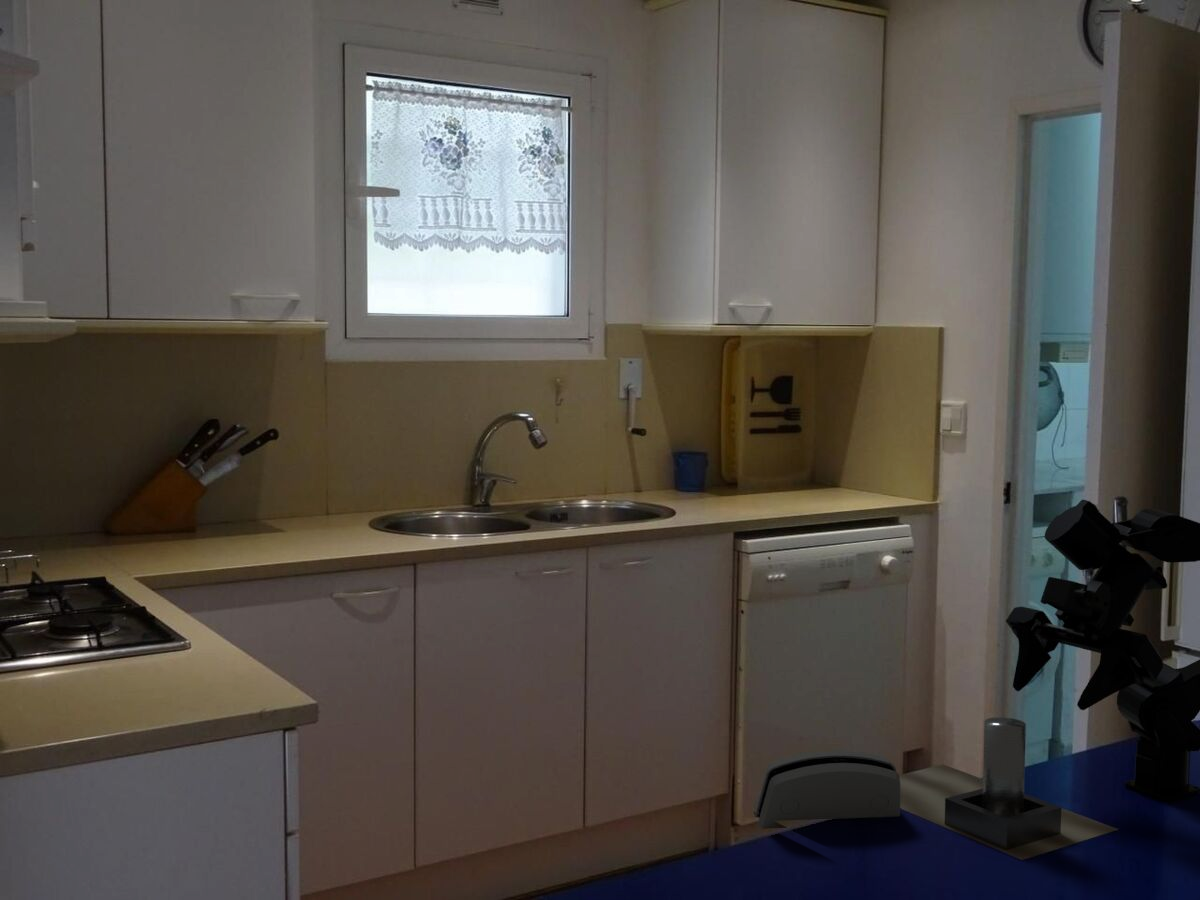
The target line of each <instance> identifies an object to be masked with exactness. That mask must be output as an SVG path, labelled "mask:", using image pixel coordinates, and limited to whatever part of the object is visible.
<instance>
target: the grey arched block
mask: <svg viewBox="0 0 1200 900" xmlns="http://www.w3.org/2000/svg"><path fill="white" fill-rule="evenodd" d="M896 770H897V769H896V766H895V765H894V764H893V762H892V761H891V760H890V759H889V758H887V757H883V756H880V755H875V754H872V753H867V752H862V751H861V752H860V751H853V750H852V751H851V750H822V751H813V752H806V753H805V752H804V753H801V754H800V753H799V754H796V755H792V756H787V757H785V758H781V759H778V760H774V761H772V762H770V763H769V764H768V765H767V766H766V768H765V772H764V776H763V780H762V783H761V786H760V790H759V794H758V797H757V801H755V802H754V806H753V807H754V810H755V811H753V815H754V818H758V820H757V826H758V827H760V829H766V830H767V829H787V828H788V826H785V825H783V824H781V823H779V822H780V821H782V822H783V821H806V820H807V821H808V820H833V819H834V820H837V819H838V820H839V819H861V818H863V819H865V818H868V819H869V818H891V817H901V809H900V778H899V775H900V774H899V773H898V772H897V771H896ZM778 821H779V822H778Z"/></svg>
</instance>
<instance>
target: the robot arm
mask: <svg viewBox="0 0 1200 900" xmlns="http://www.w3.org/2000/svg"><path fill="white" fill-rule="evenodd" d="M1044 539H1045V540H1046V541H1047V542H1048V543H1049V544H1050V545H1051V546H1052V547H1053V548H1054V549H1056V550H1057V551H1058V553H1060V554H1061V555H1062V556H1063V557H1064V558H1065V559H1067V560H1068V561H1069V562H1070V563H1071V564H1072V565H1073V566H1074V567H1076V568H1077V569H1078V570H1079V571H1086V570H1089V569H1090V570H1096V571H1095V573H1094V575H1093V576H1092V578H1091V579H1090V580H1089V581H1088V582H1087V584H1086V583H1081V582H1077V581H1074V580H1068V579H1064V578H1063V579H1062V578H1057V577H1053V576H1048V578H1047V581H1046V583H1045V587H1044V590H1043V591H1042V596H1041V598H1040V603H1041V604H1043V605H1048V606H1050V607H1052V608H1054V609H1056V612H1055V613H1054V615H1055V616H1056V618H1057V619H1058V620H1059V621H1061V622H1063V624H1062V626H1061V625H1056V624H1053V623H1052V621H1051V620H1050V619H1049V617H1048V616H1047V615H1046V613H1045V612H1044V611H1043V610H1039V609H1035V608H1031V607H1026V606H1015V607H1014V608H1013V609H1012V611H1011V612H1010V614H1009V615H1008V616H1007V618H1006V619H1005V622H1006V624H1007V625H1008V626H1009V628H1010V629H1011V631H1012V633H1013V634H1014V635H1015V636H1016V638H1017V640H1018V653H1017V660H1016V666H1015V671H1014V677H1013V682H1012V688H1013V689H1014V690H1015V691H1016V692H1021V690H1023V689H1024V688H1025V687H1026V686H1027V685H1028V684H1029V683H1030V682H1031V681H1032V679H1034V677H1035V676H1036V675H1037V674H1038V673H1039V672H1040V671H1041V670H1042V669H1043V668H1044V667H1045V666H1046V664H1047V663H1048V662H1049V661H1050V660H1051V659H1052V656H1051V655H1050V654H1049V653H1051V652H1054V651H1055V649H1056V648H1057V647H1058V645H1059V644H1062V645H1065V646H1066V645H1067V646H1069V647H1073V648H1078V649H1081V650H1082V649H1083V650H1086V651H1090V652H1093V653H1094V652H1095V653H1098V654H1100V659H1099V664H1098V665H1097V667H1096V669H1095V670H1094V672H1093V674H1092V676H1091V677H1090V679H1089V680H1088V681H1087V684H1086V686H1085V688H1084V689H1083V690H1082V693H1081V695H1080V697H1079V698H1078V701H1077V704H1076V706H1077V707H1078V708H1079V710H1081V711H1085V710H1087V709H1089V708H1090V707H1092V706H1094V705H1096V704H1097V703H1099V702H1101V701H1102V700H1104V699H1106V698H1108V697H1110V696H1112V695H1113V694H1115V693H1117V692H1118V693H1117V694H1116V695H1117V696H1116V705H1117V709H1118V711H1119V713H1120V714H1121V716H1122V717H1124V718H1125V719H1126V720H1127V722H1128V726H1129V728H1130V731H1131V732H1134V733H1136V734H1138V735H1139V739H1138V740H1137V741H1136V754H1135V762H1134V764H1135V766H1134V778H1133V779H1130V780H1127V781H1124V782H1123V783H1124V787H1126V788H1129V789H1132V790H1136V791H1137V792H1141V793H1144V794H1147V795H1150V796H1153V797H1156V798H1159V799H1162V800H1164V801H1169V802H1172V801H1175V800H1178V799H1181V798H1185V797H1188V796H1191V795H1195V794H1198V793H1200V786H1197V785H1193V784H1191V783H1190V776H1191V775H1190V772H1191V771H1190V770H1191V755H1192V754H1191V753H1192V752H1199V751H1200V728H1199V727H1198V726H1197V725H1196V724H1195V723H1194V722H1193V720H1194V719H1196V717H1197V716H1198V715H1199V713H1200V659H1197V660H1196V661H1194V662H1192V663H1190V664H1187V665H1186V666H1183V667H1180V668H1174V667H1172V666H1170V665H1168V664H1166V663H1165V662H1164V661H1163V658H1162V656H1161V654H1160V653H1159V652H1158V650H1157V648H1156V647H1155V645H1154V644H1153V643H1152V641H1151V639H1150V638H1149V637H1148V635H1147V634H1145V633H1141V632H1136V631H1131V630H1127V629H1123V628H1122V627H1123V626H1127V627H1131V626H1132V625H1133V623H1134V621H1135V619H1134V617H1133V616H1132V615H1131V612H1132V611H1133V609H1134V608H1135V606H1136V604H1137V602H1138V601H1139V600H1140V597H1141V596H1142V595H1143V593H1144V591H1154V590H1156V591H1157V590H1163V589H1166V588H1168V582H1167V579H1166V577H1165V576H1164V574H1163V568H1162V566H1152V564H1151V563H1149V562H1148V561H1147V560H1146V559H1145V558H1144V557H1143V556H1141V554H1142V555H1146V556H1148V557H1151V558H1153V559H1156V560H1159V561H1162V562H1164V563H1171V564H1173V563H1196V562H1200V522H1197V521H1195V520H1192V519H1189V518H1186V517H1183V516H1180V515H1177V514H1173V513H1170V512H1167V511H1165V510H1164V511H1163V510H1162V509H1161V510H1160V509H1157V508H1144V509H1142V510H1140V511H1139V512H1138V513H1136V514H1135V515H1134V516H1133V518H1131V519H1126V520H1121V521H1116V522H1113V523H1112V522H1111V521H1110V520H1109V519H1107V518H1106V516H1104V515H1103V514H1102V513H1101V512H1100V510H1099V509H1098V507H1097V506H1096V505H1094V503H1093V502H1092V501H1090V500H1086V499H1081V500H1080V501H1079V502H1078V503H1077V504H1076V505H1074V506H1071V507H1069V508H1067V509H1066V510H1065V511H1063V512H1062V513H1060V514H1057V515H1056V516H1055V517H1054V518H1053V519H1052V521H1051V522H1050V523H1049V524H1048V526H1047V527H1046V530H1045V532H1044ZM1123 545H1124V546H1127V547H1130V548H1132V549H1133V550H1135V551H1136V552H1137V553H1135V552H1134V553H1132V552H1131V551H1129V550H1128V549H1126V548H1125V547H1124V546H1123ZM1139 553H1140V554H1139Z"/></svg>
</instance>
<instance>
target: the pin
mask: <svg viewBox="0 0 1200 900" xmlns="http://www.w3.org/2000/svg"><path fill="white" fill-rule="evenodd" d="M983 723H984V724H983V726H984V728H983V729H984V730H983V731H984V732H983V759H982V760H983V761H982V763H983V764H982V765H983V766H982V767H983V769H982V770H983V771H982V779H983V801H982V808H984V809H986V810H989V811H991V812H994V813H996V814H999V815H1001V816H1004V817H1009V816H1013V815H1016V814H1020V813H1023V812H1024V794H1025V774H1026V772H1025V771H1026V770H1025V768H1026V765H1025V764H1026V737H1027V736H1026V733H1027V731H1026V730H1027V724H1026V722H1025V721H1022V720H1020V719H1015V718H1010V717H1000V716H999V717H989V718H986V719H985V720H984V722H983Z"/></svg>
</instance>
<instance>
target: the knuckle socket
mask: <svg viewBox="0 0 1200 900" xmlns="http://www.w3.org/2000/svg"><path fill="white" fill-rule="evenodd" d="M982 801H983V788H982V789H979V790H975V791H971V792H967V793H964V794H960V795H956V796H952V797H949V798H945V825H947V826H950V827H952V828H955V829H957V830H959V831H962V832H964V833H967V834H969V835H971V836H974V837H976V838H979V839H981V840H983V841H986V842H988V843H990V844H993V845H995V846H998V847H1000V848H1002V849H1005V850H1009V849H1012V848H1015V847H1019V846H1022V845H1025V844H1028V843H1032V842H1035V841H1038V840H1042V839H1045V838H1048V837H1051V836H1055V835H1058V834H1061V809H1063V808H1062V807H1061V806H1060V805H1056V804H1054V803H1050V802H1048V801H1046V800H1044V799H1043V800H1042V799H1041V798H1037V797H1034V796H1032V795H1028V794H1026V793H1024V812H1023V813H1020V814H1016V815H1013V816H1009V817H1004V816H1001V815H999V814H996V813H994V812H991V811H989V810H986V809H984V808H982Z"/></svg>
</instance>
